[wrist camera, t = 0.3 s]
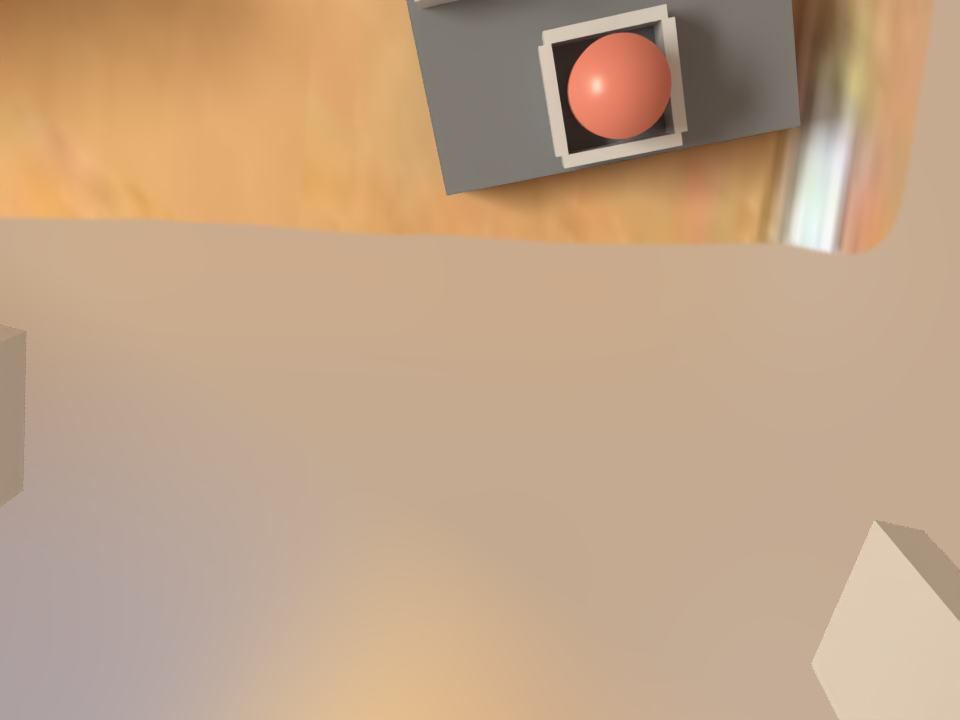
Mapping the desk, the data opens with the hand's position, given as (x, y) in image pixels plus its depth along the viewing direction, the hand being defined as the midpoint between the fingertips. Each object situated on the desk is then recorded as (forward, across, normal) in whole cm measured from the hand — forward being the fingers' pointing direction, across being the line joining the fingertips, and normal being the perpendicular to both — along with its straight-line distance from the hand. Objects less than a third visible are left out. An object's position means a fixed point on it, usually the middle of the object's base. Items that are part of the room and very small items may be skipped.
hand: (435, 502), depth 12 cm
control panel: (+26, +2, +11) cm, 28 cm away
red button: (+21, +3, +7) cm, 23 cm away
